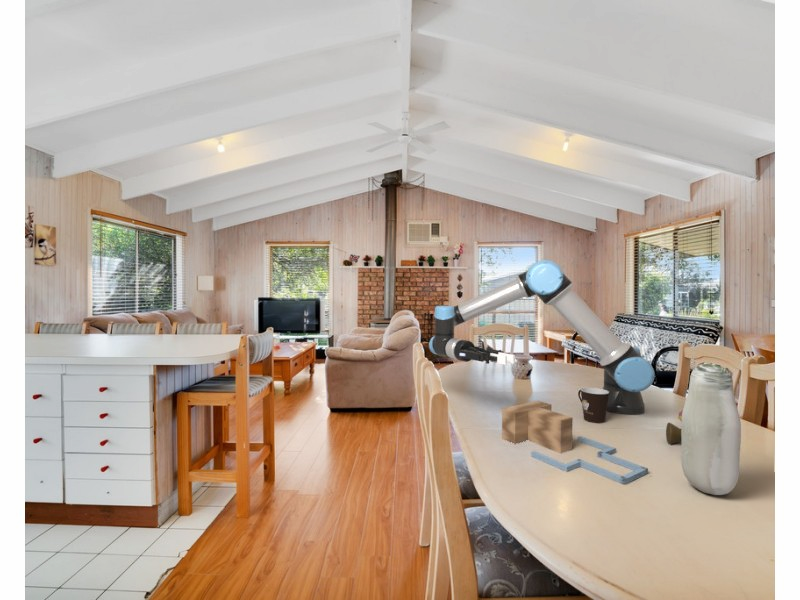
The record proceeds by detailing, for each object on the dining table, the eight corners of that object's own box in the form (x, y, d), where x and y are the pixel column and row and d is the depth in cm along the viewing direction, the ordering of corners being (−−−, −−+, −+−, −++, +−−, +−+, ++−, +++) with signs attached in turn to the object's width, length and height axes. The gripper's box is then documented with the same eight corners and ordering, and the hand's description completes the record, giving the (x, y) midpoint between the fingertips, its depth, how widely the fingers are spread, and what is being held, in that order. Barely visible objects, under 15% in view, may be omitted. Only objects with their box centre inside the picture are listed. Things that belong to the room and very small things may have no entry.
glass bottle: (749, 504, 84) (753, 370, 83) (695, 500, 86) (698, 368, 85) (720, 481, 94) (723, 361, 93) (671, 478, 95) (674, 360, 94)
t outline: (531, 456, 108) (531, 451, 108) (580, 439, 119) (580, 435, 119) (610, 491, 89) (610, 485, 89) (659, 467, 101) (659, 463, 101)
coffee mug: (611, 425, 132) (612, 394, 131) (583, 423, 133) (584, 393, 133) (601, 414, 143) (602, 386, 143) (575, 412, 145) (576, 384, 144)
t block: (501, 438, 120) (502, 408, 120) (537, 428, 129) (538, 400, 128) (547, 458, 107) (547, 424, 106) (584, 445, 115) (584, 414, 115)
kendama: (674, 462, 105) (662, 435, 123) (720, 471, 101) (701, 441, 119) (675, 440, 105) (664, 415, 123) (722, 447, 101) (702, 421, 119)
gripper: (477, 358, 152) (527, 369, 132) (443, 362, 143) (491, 374, 123) (477, 338, 151) (527, 346, 132) (443, 341, 143) (491, 350, 123)
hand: (510, 359), depth 127 cm, fingers open, 3 cm apart
